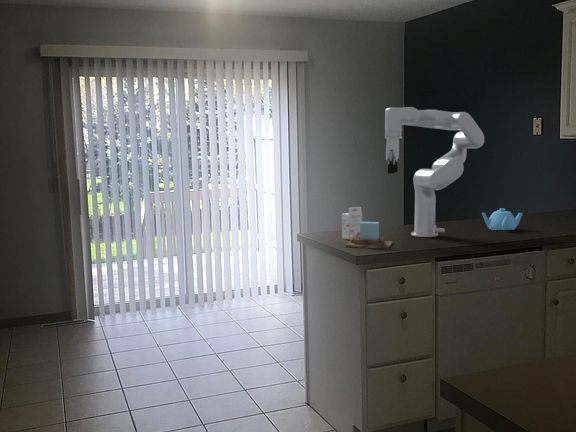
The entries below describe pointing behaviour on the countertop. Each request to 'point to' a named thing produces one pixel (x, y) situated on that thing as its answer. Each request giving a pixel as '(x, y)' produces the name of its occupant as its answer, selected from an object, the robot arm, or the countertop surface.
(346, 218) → the ink cartridge box
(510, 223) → the teapot
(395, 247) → the countertop surface
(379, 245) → the cradle
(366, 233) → the key block
